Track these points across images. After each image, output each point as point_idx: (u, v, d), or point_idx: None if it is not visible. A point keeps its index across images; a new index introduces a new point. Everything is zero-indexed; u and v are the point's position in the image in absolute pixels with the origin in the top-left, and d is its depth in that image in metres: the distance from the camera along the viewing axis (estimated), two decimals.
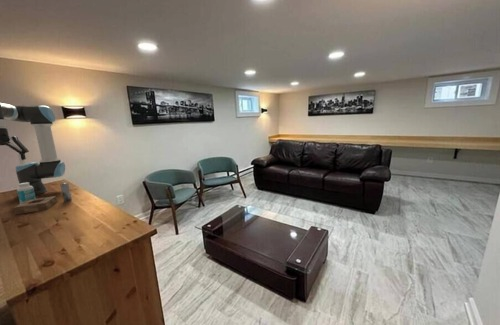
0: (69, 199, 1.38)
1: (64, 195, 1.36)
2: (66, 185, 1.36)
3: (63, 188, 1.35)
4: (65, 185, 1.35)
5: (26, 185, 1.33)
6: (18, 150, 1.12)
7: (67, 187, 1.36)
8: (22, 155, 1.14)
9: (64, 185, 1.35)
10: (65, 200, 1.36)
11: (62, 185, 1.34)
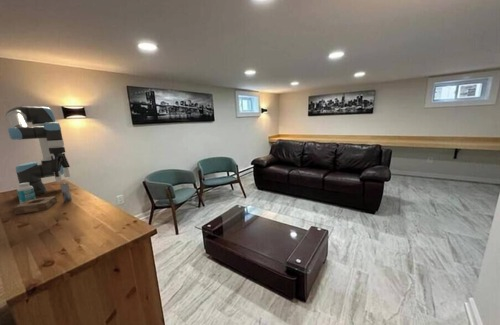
0: (69, 199, 1.38)
1: (64, 195, 1.36)
2: (66, 185, 1.36)
3: (63, 188, 1.35)
4: (65, 185, 1.35)
5: (26, 185, 1.33)
6: None
7: (67, 187, 1.36)
8: None
9: (64, 185, 1.35)
10: (65, 200, 1.36)
11: (62, 185, 1.34)
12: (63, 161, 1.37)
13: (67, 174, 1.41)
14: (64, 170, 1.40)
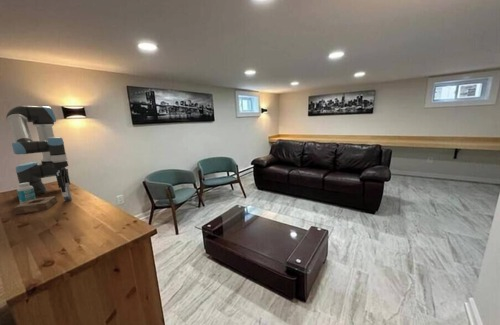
0: (69, 199, 1.38)
1: None
2: (66, 185, 1.36)
3: None
4: (65, 185, 1.35)
5: (26, 185, 1.33)
6: None
7: (67, 187, 1.36)
8: None
9: None
10: (65, 200, 1.37)
11: None
12: (65, 176, 1.37)
13: None
14: None
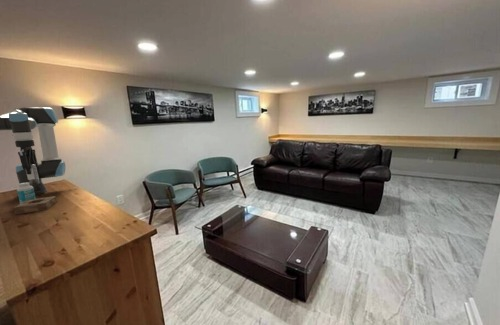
0: (36, 182, 1.25)
1: None
2: (32, 166, 1.23)
3: None
4: (31, 166, 1.23)
5: (26, 185, 1.33)
6: None
7: (34, 169, 1.24)
8: None
9: None
10: (32, 183, 1.24)
11: None
12: (31, 157, 1.24)
13: None
14: None
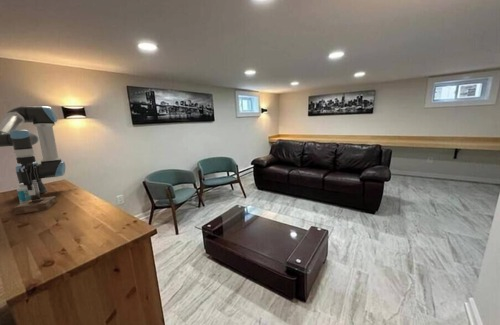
0: (37, 198, 1.26)
1: None
2: (33, 182, 1.24)
3: None
4: (32, 182, 1.24)
5: (26, 185, 1.33)
6: None
7: (35, 184, 1.25)
8: None
9: None
10: (32, 199, 1.25)
11: None
12: (32, 173, 1.25)
13: None
14: None
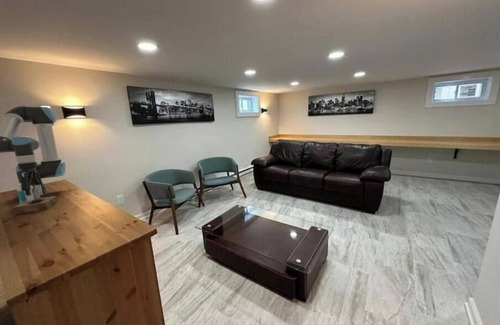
0: None
1: (33, 202, 1.25)
2: (35, 191, 1.25)
3: None
4: (34, 191, 1.25)
5: None
6: None
7: (37, 193, 1.26)
8: None
9: (33, 191, 1.24)
10: None
11: None
12: (34, 177, 1.27)
13: (39, 192, 1.31)
14: None
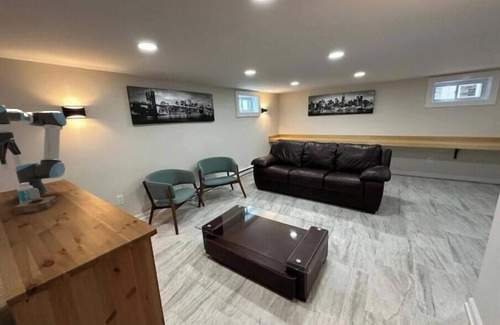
0: None
1: (33, 202, 1.25)
2: (35, 191, 1.25)
3: (32, 194, 1.24)
4: (34, 191, 1.25)
5: (26, 185, 1.33)
6: None
7: (37, 193, 1.26)
8: None
9: (33, 191, 1.24)
10: None
11: (31, 191, 1.24)
12: (12, 148, 1.26)
13: (18, 162, 1.30)
14: (14, 157, 1.29)
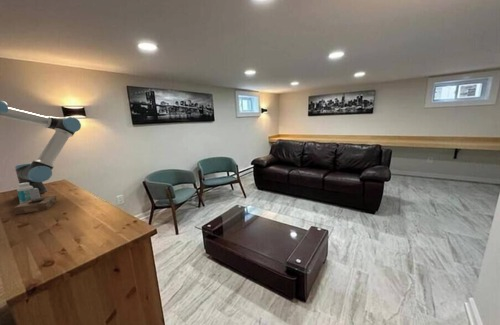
0: None
1: (33, 202, 1.25)
2: (35, 191, 1.25)
3: (32, 194, 1.24)
4: (34, 191, 1.25)
5: (26, 185, 1.33)
6: None
7: (37, 193, 1.26)
8: None
9: (33, 191, 1.24)
10: None
11: (31, 191, 1.24)
12: None
13: None
14: None
